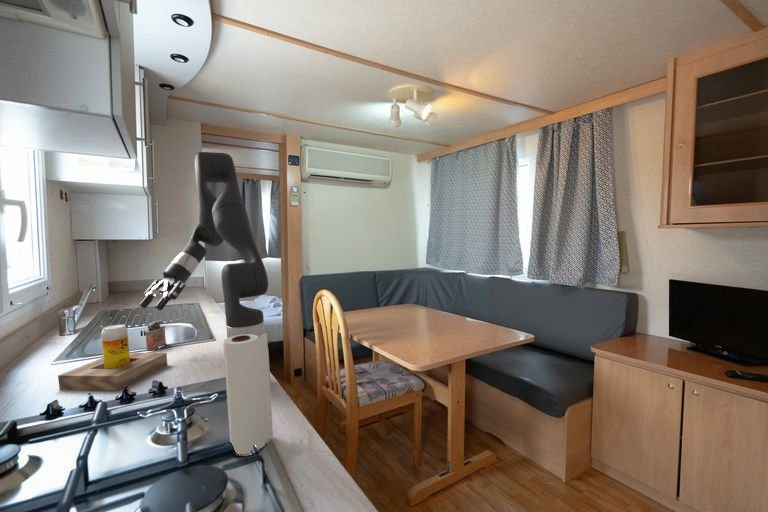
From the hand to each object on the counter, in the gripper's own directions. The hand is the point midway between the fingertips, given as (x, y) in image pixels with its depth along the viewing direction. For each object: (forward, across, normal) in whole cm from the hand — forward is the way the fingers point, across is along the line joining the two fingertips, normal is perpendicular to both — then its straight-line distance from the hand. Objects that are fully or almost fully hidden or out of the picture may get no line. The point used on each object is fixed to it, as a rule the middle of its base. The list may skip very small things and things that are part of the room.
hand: (149, 308), depth 112 cm
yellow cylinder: (+20, 0, +6) cm, 21 cm away
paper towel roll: (+27, +65, -1) cm, 71 cm away
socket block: (+20, 0, +6) cm, 21 cm away
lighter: (+6, -16, +20) cm, 27 cm away
